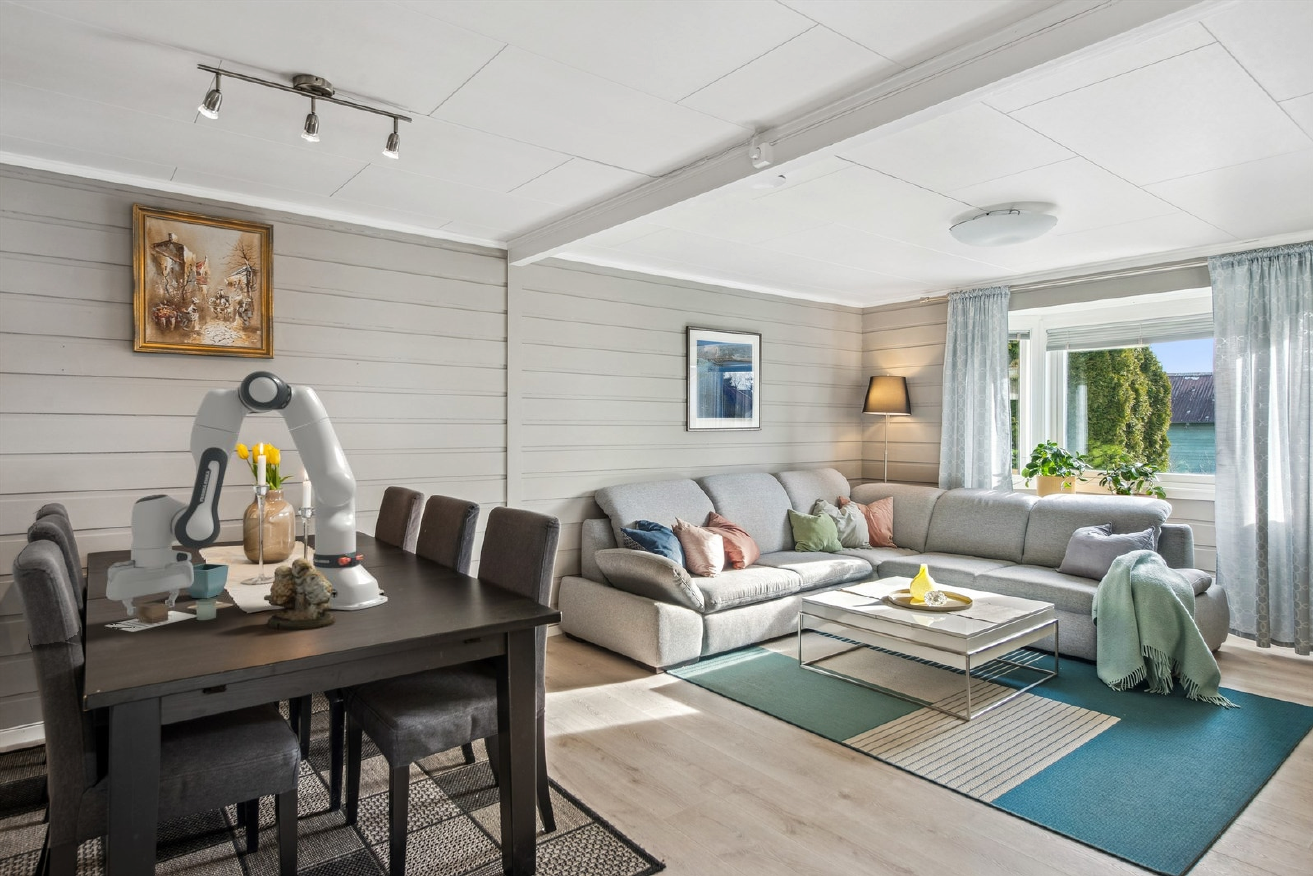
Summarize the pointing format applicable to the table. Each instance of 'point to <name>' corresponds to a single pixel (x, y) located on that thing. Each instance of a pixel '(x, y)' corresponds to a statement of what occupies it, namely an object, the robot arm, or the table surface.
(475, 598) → the table surface
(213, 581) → the flower pot
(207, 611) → the jar
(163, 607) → the walnut block
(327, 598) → the owl figurine
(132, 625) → the letter
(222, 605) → the coaster
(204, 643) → the table surface
